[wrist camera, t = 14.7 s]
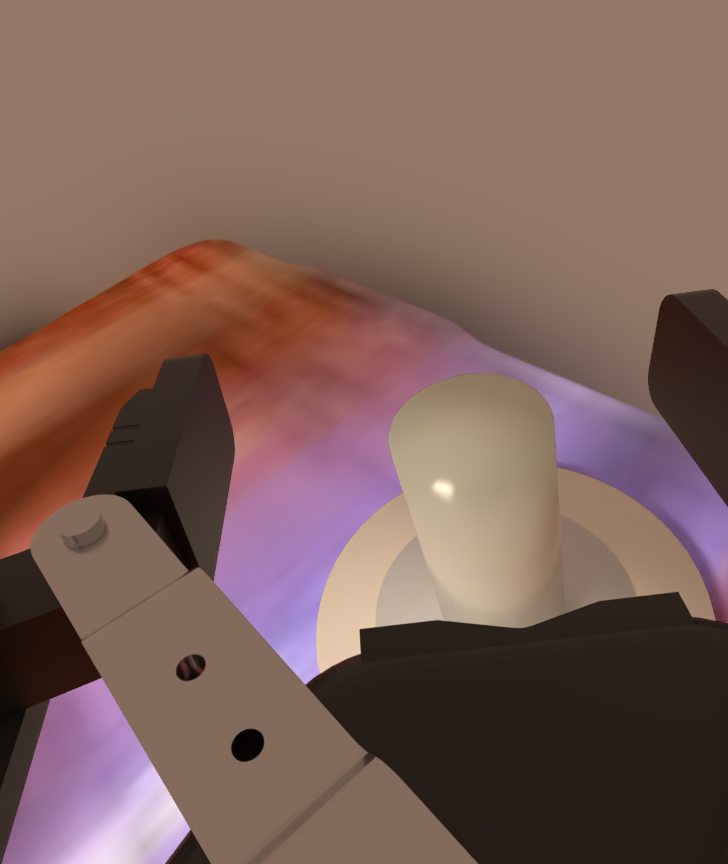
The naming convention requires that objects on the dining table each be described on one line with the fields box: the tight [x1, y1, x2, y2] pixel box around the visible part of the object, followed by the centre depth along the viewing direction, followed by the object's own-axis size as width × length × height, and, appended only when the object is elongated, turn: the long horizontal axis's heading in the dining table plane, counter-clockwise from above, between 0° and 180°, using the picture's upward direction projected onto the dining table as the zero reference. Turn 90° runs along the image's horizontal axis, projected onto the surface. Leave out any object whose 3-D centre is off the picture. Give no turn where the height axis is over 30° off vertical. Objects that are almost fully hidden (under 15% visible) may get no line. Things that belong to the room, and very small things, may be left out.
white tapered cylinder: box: [389, 373, 566, 628], centre depth 26 cm, size 6×6×12 cm
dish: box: [316, 467, 715, 673], centre depth 31 cm, size 18×18×1 cm
